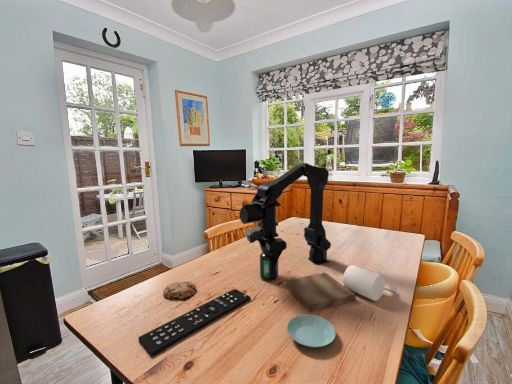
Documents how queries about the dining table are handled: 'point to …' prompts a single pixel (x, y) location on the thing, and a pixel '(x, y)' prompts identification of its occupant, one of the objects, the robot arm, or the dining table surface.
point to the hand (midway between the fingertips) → (268, 260)
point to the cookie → (179, 290)
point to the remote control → (191, 321)
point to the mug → (364, 282)
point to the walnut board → (319, 291)
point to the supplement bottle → (267, 266)
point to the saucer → (311, 331)
